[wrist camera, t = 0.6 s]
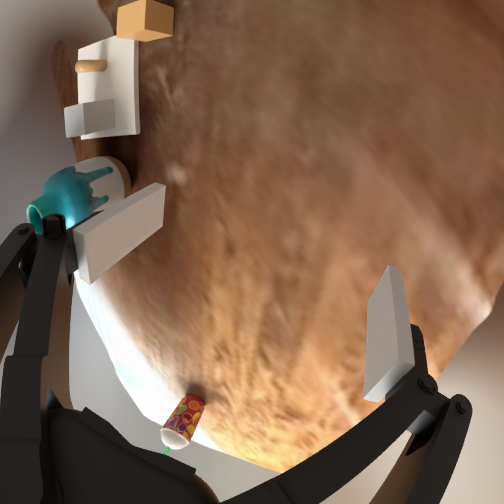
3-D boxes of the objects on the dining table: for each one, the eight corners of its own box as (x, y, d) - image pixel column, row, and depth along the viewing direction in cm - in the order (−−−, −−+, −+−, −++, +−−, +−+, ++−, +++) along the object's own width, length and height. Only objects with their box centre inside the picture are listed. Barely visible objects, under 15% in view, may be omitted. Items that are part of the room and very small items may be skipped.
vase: (92, 163, 49) (10, 199, 33) (126, 140, 44) (34, 172, 28) (113, 212, 52) (38, 260, 36) (150, 195, 48) (66, 247, 32)
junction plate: (82, 49, 37) (49, 50, 31) (139, 30, 34) (103, 24, 27) (85, 138, 46) (53, 148, 39) (140, 133, 43) (105, 142, 36)
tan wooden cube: (147, 14, 32) (118, 7, 26) (174, 7, 31) (146, -3, 25) (146, 41, 35) (116, 37, 29) (172, 35, 33) (144, 29, 28)
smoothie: (190, 407, 79) (161, 458, 63) (177, 390, 76) (144, 443, 60) (213, 410, 76) (184, 465, 59) (200, 393, 73) (167, 451, 56)
